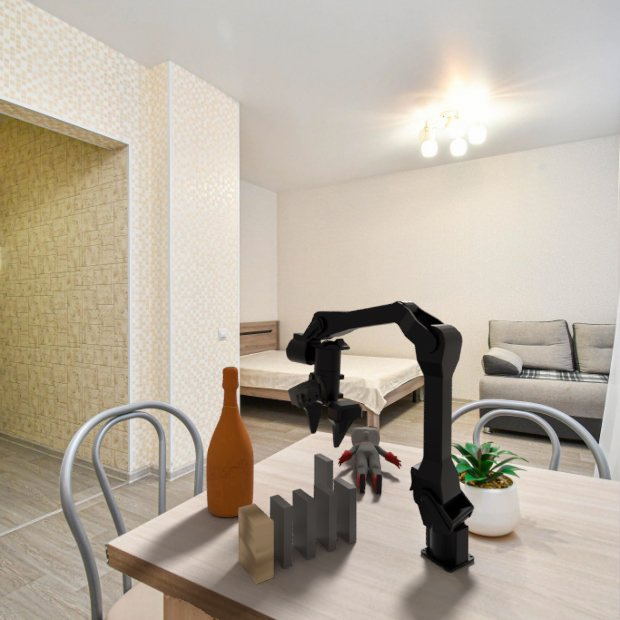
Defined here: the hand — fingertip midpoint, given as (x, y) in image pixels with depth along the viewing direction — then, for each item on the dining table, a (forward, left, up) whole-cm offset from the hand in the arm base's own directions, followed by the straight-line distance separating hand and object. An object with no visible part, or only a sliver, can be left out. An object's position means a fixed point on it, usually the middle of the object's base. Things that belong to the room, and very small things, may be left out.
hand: (324, 440), depth 92 cm
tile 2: (-13, +4, -14) cm, 19 cm away
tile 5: (-13, +18, -14) cm, 26 cm away
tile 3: (-13, +9, -14) cm, 21 cm away
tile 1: (0, 0, -14) cm, 14 cm away
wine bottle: (+9, +18, -14) cm, 24 cm away
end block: (-13, +22, -14) cm, 29 cm away
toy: (+10, -21, -14) cm, 27 cm away
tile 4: (-13, +13, -14) cm, 23 cm away
